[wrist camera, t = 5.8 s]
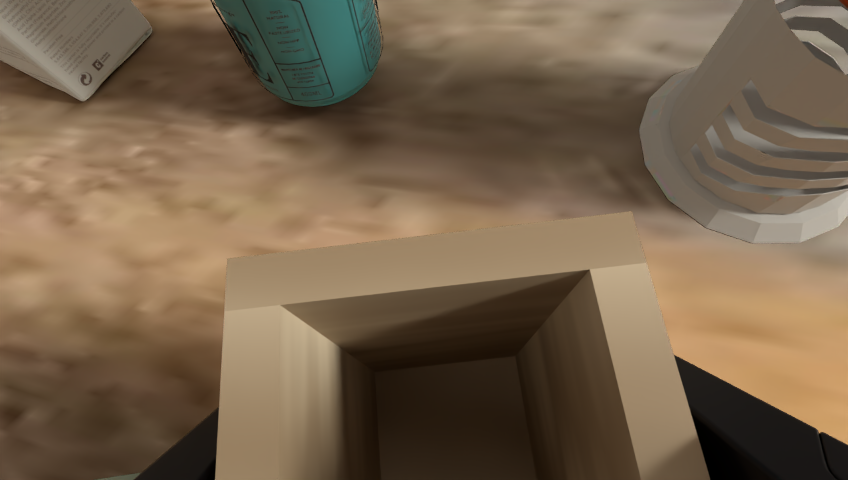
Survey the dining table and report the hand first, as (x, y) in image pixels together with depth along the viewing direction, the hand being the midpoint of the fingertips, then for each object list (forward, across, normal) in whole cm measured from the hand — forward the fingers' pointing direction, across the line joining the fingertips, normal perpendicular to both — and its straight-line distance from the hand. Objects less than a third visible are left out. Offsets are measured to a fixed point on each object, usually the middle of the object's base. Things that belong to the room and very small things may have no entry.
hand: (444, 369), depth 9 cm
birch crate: (+4, 0, +6) cm, 7 cm away
